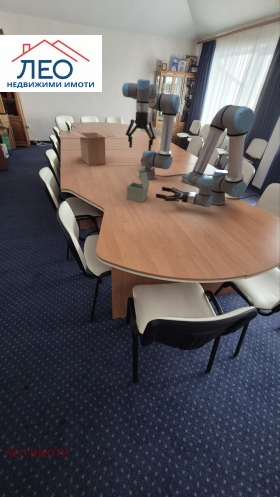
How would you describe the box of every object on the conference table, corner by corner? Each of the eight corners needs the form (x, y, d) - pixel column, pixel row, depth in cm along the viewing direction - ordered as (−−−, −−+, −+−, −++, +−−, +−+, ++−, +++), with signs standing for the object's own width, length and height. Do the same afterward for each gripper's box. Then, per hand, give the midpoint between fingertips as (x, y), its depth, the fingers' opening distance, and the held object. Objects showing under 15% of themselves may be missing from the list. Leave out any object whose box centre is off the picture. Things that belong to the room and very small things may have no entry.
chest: (126, 198, 164) (127, 186, 159) (132, 194, 172) (132, 182, 166) (142, 202, 161) (143, 189, 155) (147, 197, 168) (148, 185, 163)
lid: (138, 169, 149) (149, 167, 145) (143, 166, 156) (154, 163, 152) (142, 189, 155) (154, 187, 151) (147, 184, 163) (158, 183, 159)
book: (195, 176, 216) (196, 171, 213) (209, 181, 207) (210, 176, 204) (181, 181, 202) (182, 175, 199) (195, 186, 194) (197, 180, 191)
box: (116, 165, 229) (116, 136, 213) (83, 168, 214) (80, 137, 198) (102, 154, 259) (101, 128, 243) (71, 156, 244) (68, 129, 228)
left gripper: (120, 109, 134) (120, 147, 146) (159, 114, 127) (155, 153, 140) (126, 109, 139) (125, 145, 152) (163, 113, 133) (159, 150, 145)
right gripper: (183, 210, 143) (152, 203, 149) (191, 196, 162) (163, 190, 168) (185, 199, 139) (153, 193, 145) (193, 186, 157) (164, 181, 163)
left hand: (139, 149), depth 146 cm, fingers open, 13 cm apart
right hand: (159, 191), depth 156 cm, fingers open, 13 cm apart
